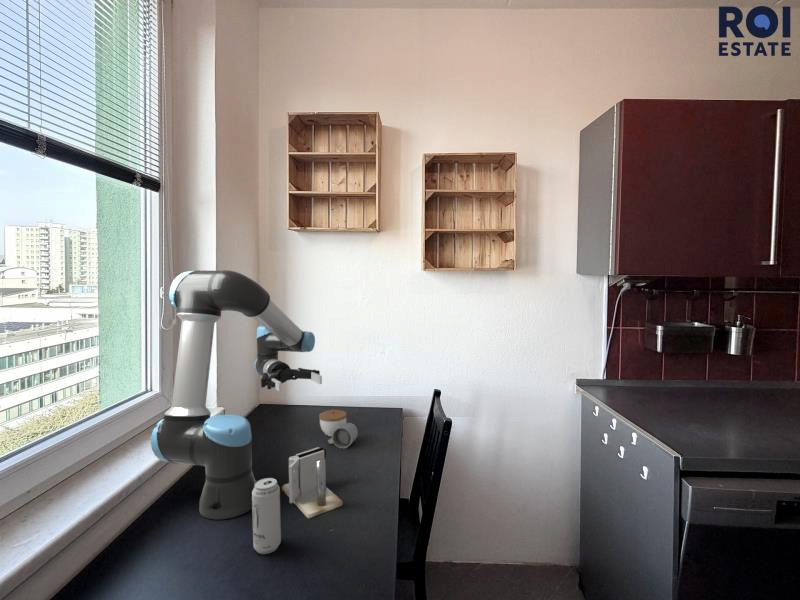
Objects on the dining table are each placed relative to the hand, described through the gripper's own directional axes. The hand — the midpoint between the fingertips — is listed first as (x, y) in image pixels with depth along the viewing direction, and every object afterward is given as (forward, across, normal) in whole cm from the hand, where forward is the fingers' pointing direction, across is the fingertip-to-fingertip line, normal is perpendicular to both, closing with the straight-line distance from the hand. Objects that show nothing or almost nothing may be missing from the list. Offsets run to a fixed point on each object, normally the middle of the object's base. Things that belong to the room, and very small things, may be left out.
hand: (301, 383), depth 129 cm
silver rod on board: (+17, +5, -27) cm, 32 cm away
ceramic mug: (-10, -20, -28) cm, 36 cm away
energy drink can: (+31, +22, -28) cm, 47 cm away
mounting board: (+17, +5, -28) cm, 33 cm away
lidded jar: (-21, -22, -28) cm, 42 cm away
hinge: (+15, +6, -27) cm, 31 cm away
